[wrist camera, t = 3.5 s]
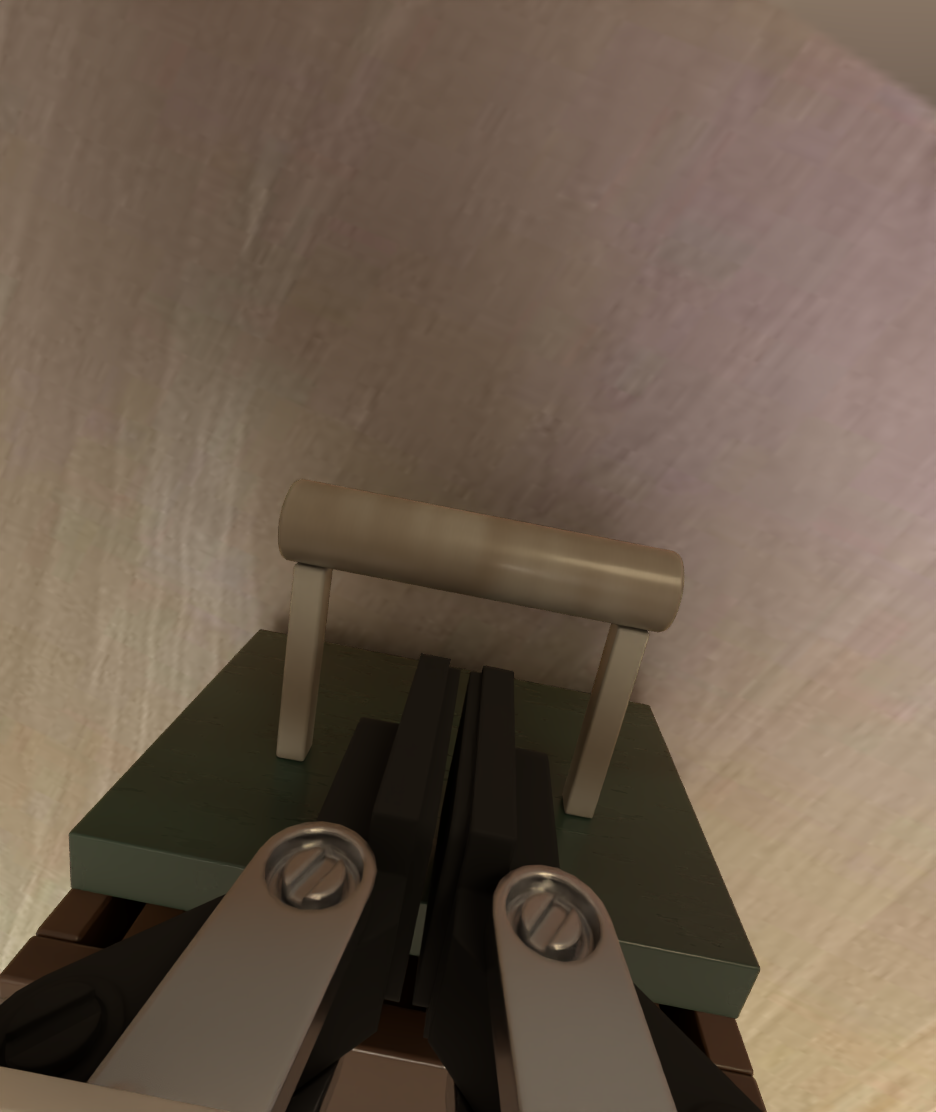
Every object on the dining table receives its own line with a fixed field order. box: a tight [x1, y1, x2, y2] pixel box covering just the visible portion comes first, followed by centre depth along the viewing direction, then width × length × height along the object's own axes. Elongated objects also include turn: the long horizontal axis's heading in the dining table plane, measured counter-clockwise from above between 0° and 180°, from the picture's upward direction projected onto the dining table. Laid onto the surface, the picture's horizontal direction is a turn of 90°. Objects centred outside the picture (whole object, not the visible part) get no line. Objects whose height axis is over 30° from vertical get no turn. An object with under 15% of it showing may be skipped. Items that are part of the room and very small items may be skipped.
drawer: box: [69, 479, 760, 1019], centre depth 14 cm, size 19×11×8 cm, turn 170°
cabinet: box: [0, 888, 767, 1112], centre depth 16 cm, size 15×13×10 cm
